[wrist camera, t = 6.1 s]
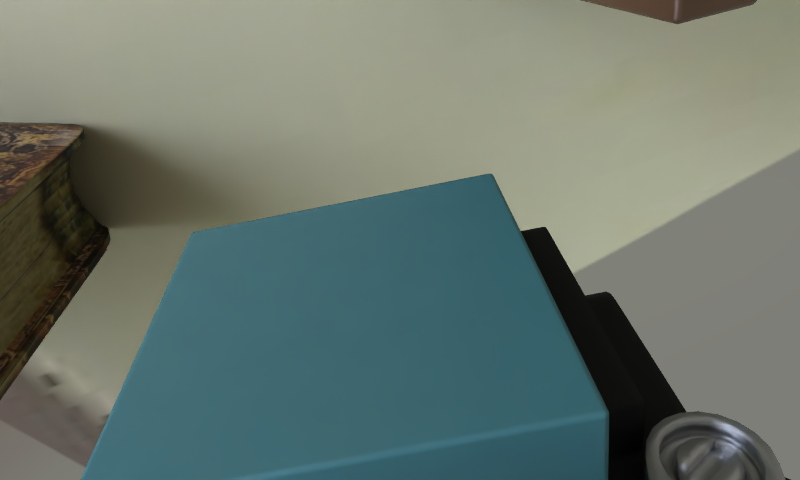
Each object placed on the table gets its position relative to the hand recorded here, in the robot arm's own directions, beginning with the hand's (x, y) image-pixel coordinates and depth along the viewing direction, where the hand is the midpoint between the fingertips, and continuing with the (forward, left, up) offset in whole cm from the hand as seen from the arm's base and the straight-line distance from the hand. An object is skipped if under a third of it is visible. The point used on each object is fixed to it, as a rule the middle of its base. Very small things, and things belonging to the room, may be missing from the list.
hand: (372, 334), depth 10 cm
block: (0, 0, 0) cm, 0 cm away
